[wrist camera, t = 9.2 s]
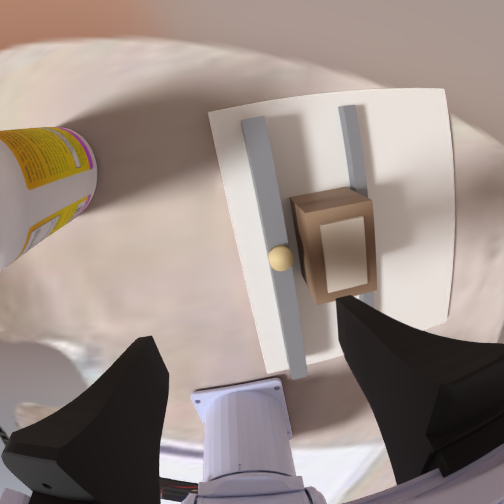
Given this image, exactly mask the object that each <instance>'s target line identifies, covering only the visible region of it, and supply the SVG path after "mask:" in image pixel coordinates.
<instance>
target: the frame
mask: <svg viewBox="0 0 504 504" xmlns="http://www.w3.org/2000/svg"><path fill="white" fill-rule="evenodd" d="M289 198H290V204H291V210H292V216H293V222H294V228H295V234H296V240H297V247H298V253H299V260H300V266H301V273H302V276H303V278H304V280H305V282H306V284H307V286H308V288H309V290H310V292H311V294H312V296H313V298H314V300H315V302H316V304H317V305H321V304H325V303H329V302H333V301H336V298H340V297H344V296H348V295H352V296H357V295H361V294H364V293H368V292H372V291H376V290H377V267H376V244H375V228H374V214H373V203H372V200H371V199H369V198H367V197H365V196H363V195H361V194H359V193H357V192H355V191H353V190H351V189H349V188H347V187H342V188H336V189H331V190H325V191H320V192H314V193H309V194H304V195H299V196H294V197H289Z"/></svg>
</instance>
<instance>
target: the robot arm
mask: <svg viewBox="0 0 504 504" xmlns="http://www.w3.org/2000/svg"><path fill="white" fill-rule="evenodd" d="M336 312H337V326H338V341H339V343H340V346H341V349H342V351H343V354H344V356H345V359H346V361H347V363H348V365H349V367H350V369H351V371H352V372H353V374H354V376H355V378H356V380H357V382H358V383H359V385H360V387H361V389H362V391H363V393H364V394H365V396H366V398H367V400H368V402H369V404H370V406H371V408H372V410H373V413H374V415H375V418H376V421H377V423H378V426H379V429H380V431H381V434H382V437H383V440H384V443H385V446H386V449H387V452H388V455H389V458H390V462H391V465H392V468H393V472H394V475H395V479H396V483H397V486H394V487H392V488H389V489H386V490H384V491H381V492H378V493H375V494H372V495H369V496H366V497H363V498H360V499H356V500H353V501H350V502H346V503H343V504H504V344H500V343H477V342H469V341H462V340H456V339H451V338H447V337H442V336H438V335H435V334H431V333H428V332H425V331H422V330H419V329H416V328H414V327H411V326H409V325H406V324H404V323H402V322H400V321H398V320H395V319H393V318H391V317H389V316H387V315H386V314H384V313H382V312H380V311H378V310H376V309H375V308H373V307H371V306H369V305H368V304H366V303H364V302H362V301H361V300H359V299H357V298H356V297H354V296H352V295H348V296H344V297H340V298H336ZM276 386H278V387H276ZM168 394H169V372H168V370H167V368H166V366H165V364H164V362H163V359H162V357H161V355H160V353H159V351H158V348H157V346H156V344H155V341H154V339H153V337H152V336H147V337H140V338H138V339H136V340H135V341H134V342H133V343H132V344H131V345H130V346H129V347H128V348H127V349H126V351H125V352H124V353H123V354H122V355H121V356H120V357H119V358H118V359H117V360H116V361H115V362H114V363H113V365H112V366H111V367H110V368H109V369H108V370H107V371H106V372H105V373H104V374H103V375H102V376H101V377H100V378H99V379H98V380H97V381H96V382H95V383H94V384H92V385H91V386H90V387H89V388H88V389H87V390H86V391H84V392H83V393H82V394H81V395H80V396H78V397H77V398H76V399H74V400H73V401H72V402H70V403H69V404H67V405H66V406H64V407H63V408H61V409H60V410H58V411H57V412H55V413H53V414H52V415H50V416H48V417H46V418H44V419H42V420H41V421H39V422H37V423H34V424H32V425H30V426H28V427H25V428H23V429H20V430H18V431H15V432H13V433H12V434H11V436H10V438H9V440H8V442H7V444H6V446H5V449H4V451H3V453H2V456H1V457H2V460H3V462H4V464H5V465H6V467H7V468H8V469H9V470H10V471H11V472H12V473H13V474H14V475H15V476H16V477H17V478H18V479H19V480H20V481H22V482H23V483H24V484H25V485H26V486H28V488H30V489H31V490H32V491H33V493H32V496H31V497H29V496H28V495H26V494H23V493H21V492H18V491H15V490H11V489H8V488H4V491H3V493H2V496H1V499H0V504H161V502H160V487H159V454H160V441H161V435H162V429H163V423H164V418H165V412H166V407H167V401H168ZM191 400H192V402H193V404H194V406H195V408H196V410H197V412H198V414H199V416H200V418H201V420H202V422H203V424H204V426H205V431H204V464H203V482H199V483H198V494H189V495H188V496H187V498H186V499H184V500H183V501H182V503H181V504H327V503H326V500H325V498H324V496H323V495H322V494H321V493H320V492H319V491H317V490H316V489H315V488H314V487H312V486H310V487H305V488H304V484H303V480H302V476H296V472H295V467H294V463H293V458H292V453H291V448H290V443H289V440H290V439H292V438H293V435H292V430H291V426H290V421H289V416H288V411H287V406H286V402H285V397H284V392H283V387H282V382H281V379H279V378H271V379H267V380H262V381H256V382H251V383H246V384H240V385H234V386H228V387H222V388H216V389H209V390H202V391H195V392H192V393H191Z"/></svg>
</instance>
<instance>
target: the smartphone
mask: <svg viewBox="0 0 504 504" xmlns="http://www.w3.org/2000/svg"><path fill="white" fill-rule="evenodd" d="M159 487H160V499H165V500H171V501H177V502H182V501H183V500H184V499H186V498H187V496H188V495H189V494H198V484H197V483H190V482H183V481H177V480H171V479H167V478H161V477H159Z"/></svg>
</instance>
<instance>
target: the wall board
mask: <svg viewBox="0 0 504 504" xmlns="http://www.w3.org/2000/svg"><path fill="white" fill-rule="evenodd" d="M208 117H209V122H210V126H211V131H212V135H213V140H214V145H215V149H216V154H217V158H218V163H219V167H220V172H221V176H222V181H223V185H224V190H225V194H226V199H227V203H228V208H229V212H230V217H231V221H232V226H233V230H234V234H235V239H236V243H237V247H238V252H239V256H240V261H241V265H242V269H243V274H244V278H245V282H246V286H247V291H248V295H249V299H250V304H251V308H252V312H253V316H254V321H255V325H256V329H257V333H258V337H259V342H260V346H261V350H262V354H263V358H264V362H265V367H266V371H267V374H268V373H273V372H277V371H282V370H287V369H290V373H291V377H292V380H295V379H300V378H304V377H308V372H307V365H308V364H312V363H316V362H320V361H324V360H328V359H332V358H336V357H339V356H343V355H344V354H343V351H342V349H341V346H340V343H339V341H338V326H337V312H336V301H333V302H329V303H325V304H321V305H317V304H316V302H315V300H314V298H313V296H312V294H311V292H310V290H309V288H308V286H307V284H306V282H305V280H304V278H303V276H302V273H301V266H300V260H299V253H298V247H297V240H296V234H295V228H294V222H293V216H292V210H291V204H290V198H289V197H294V196H299V195H304V194H309V193H314V192H320V191H325V190H331V189H336V188H342V187H347V188H349V189H351V190H353V191H355V192H357V193H359V194H361V195H363V196H365V197H367V198H369V199H371V200H372V203H373V214H374V228H375V244H376V267H377V290H376V291H372V292H368V293H364V294H361V295H357V296H354V297H356V298H357V299H359V300H361V301H362V302H364V303H366V304H368V305H369V306H371V307H373V308H375V309H376V310H378V311H380V312H382V313H384V314H386V315H387V316H389V317H391V318H393V319H395V320H398V321H400V322H402V323H404V324H406V325H409V326H411V327H414V328H416V329H419V330H425V329H428V328H431V327H433V326H436V325H439V324H441V323H444V322H447V315H448V308H449V300H450V291H451V281H452V270H453V256H454V234H455V187H454V166H453V152H452V141H451V131H450V123H449V115H448V108H447V101H446V95H445V90H444V89H438V88H437V89H436V88H392V89H368V90H353V91H340V92H329V93H320V94H311V95H303V96H295V97H288V98H281V99H274V100H268V101H262V102H256V103H251V104H245V105H240V106H235V107H230V108H225V109H220V110H216V111H211V112H208Z"/></svg>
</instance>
